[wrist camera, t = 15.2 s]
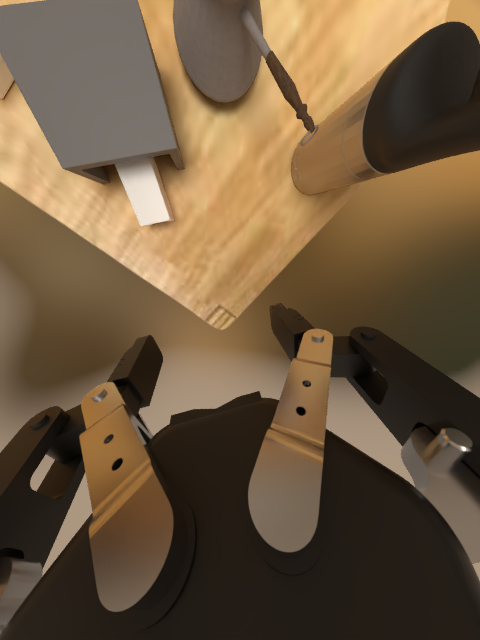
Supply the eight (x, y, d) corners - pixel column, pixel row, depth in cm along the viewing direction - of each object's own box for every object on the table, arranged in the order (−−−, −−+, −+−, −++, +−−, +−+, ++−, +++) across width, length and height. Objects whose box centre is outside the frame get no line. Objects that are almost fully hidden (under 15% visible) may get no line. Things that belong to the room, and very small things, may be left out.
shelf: (184, 168, 30) (176, 147, 22) (102, 184, 29) (62, 168, 21) (158, 68, 24) (134, -11, 16) (55, 83, 23) (-25, 8, 15)
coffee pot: (157, 29, 23) (95, -222, 10) (225, -52, 21) (257, -489, 8) (246, 192, 33) (273, 173, 20) (297, 148, 31) (362, 96, 18)
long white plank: (99, 102, 25) (77, 77, 21) (134, 97, 25) (119, 71, 21) (149, 225, 33) (140, 226, 29) (174, 220, 33) (170, 220, 29)
